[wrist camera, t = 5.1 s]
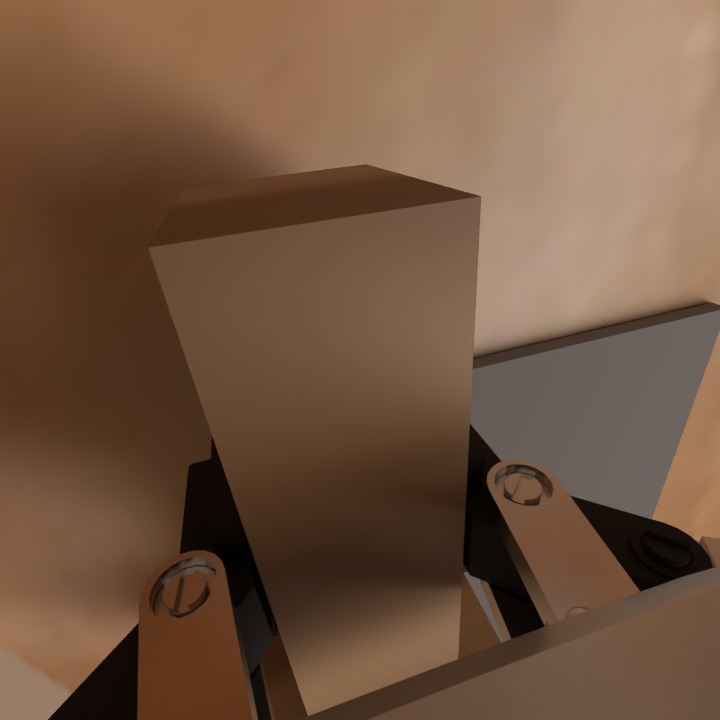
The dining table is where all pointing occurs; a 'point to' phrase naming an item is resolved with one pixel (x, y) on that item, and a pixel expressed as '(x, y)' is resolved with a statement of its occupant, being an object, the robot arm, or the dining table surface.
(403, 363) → the wooden t-shaped block
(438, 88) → the dining table surface
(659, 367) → the panel
